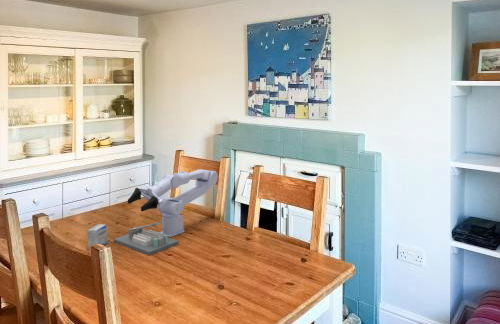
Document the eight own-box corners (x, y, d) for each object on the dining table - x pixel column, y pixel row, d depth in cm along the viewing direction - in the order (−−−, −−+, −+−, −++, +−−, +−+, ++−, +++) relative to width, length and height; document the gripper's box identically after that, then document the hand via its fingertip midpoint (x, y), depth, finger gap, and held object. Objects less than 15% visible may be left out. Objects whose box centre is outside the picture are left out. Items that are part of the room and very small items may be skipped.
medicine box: (97, 250, 179) (96, 230, 177) (88, 249, 180) (86, 229, 178) (107, 243, 187) (106, 224, 185) (98, 242, 188) (97, 223, 186)
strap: (131, 231, 189) (130, 228, 189) (138, 229, 192) (137, 226, 192) (155, 226, 179) (154, 223, 179) (161, 223, 181) (161, 221, 181)
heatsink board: (143, 232, 201) (142, 220, 200) (178, 244, 186) (178, 231, 185) (113, 242, 188) (113, 229, 187) (149, 255, 174) (148, 242, 173)
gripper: (145, 176, 190) (121, 191, 181) (170, 189, 185) (147, 205, 175) (145, 189, 194) (122, 204, 184) (170, 202, 188) (147, 218, 178)
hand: (134, 205), depth 180 cm, fingers open, 7 cm apart
